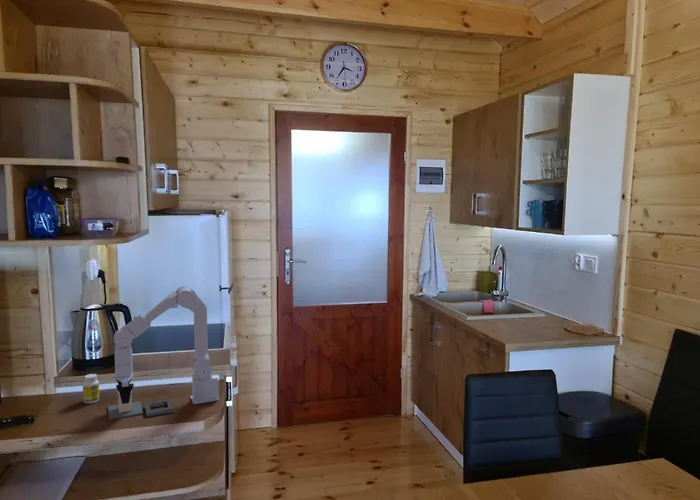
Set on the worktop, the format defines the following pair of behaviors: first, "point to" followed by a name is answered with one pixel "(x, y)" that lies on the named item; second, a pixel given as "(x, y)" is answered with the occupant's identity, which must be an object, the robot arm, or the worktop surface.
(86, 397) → the supplement bottle
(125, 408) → the square peg block
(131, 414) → the rubber mat
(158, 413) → the square socket
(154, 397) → the worktop surface
